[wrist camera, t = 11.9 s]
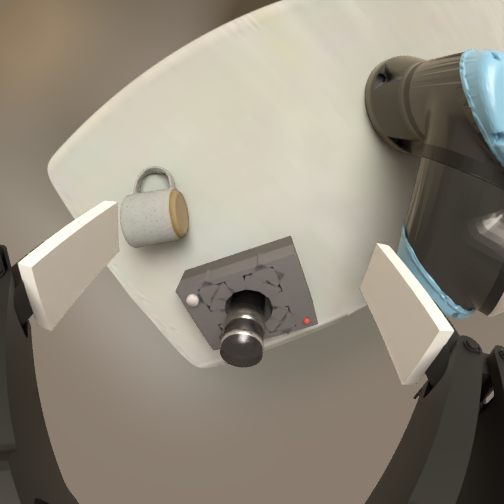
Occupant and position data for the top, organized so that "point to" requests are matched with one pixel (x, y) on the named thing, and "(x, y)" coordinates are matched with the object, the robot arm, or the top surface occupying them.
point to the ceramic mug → (153, 213)
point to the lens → (244, 329)
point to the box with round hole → (250, 278)
